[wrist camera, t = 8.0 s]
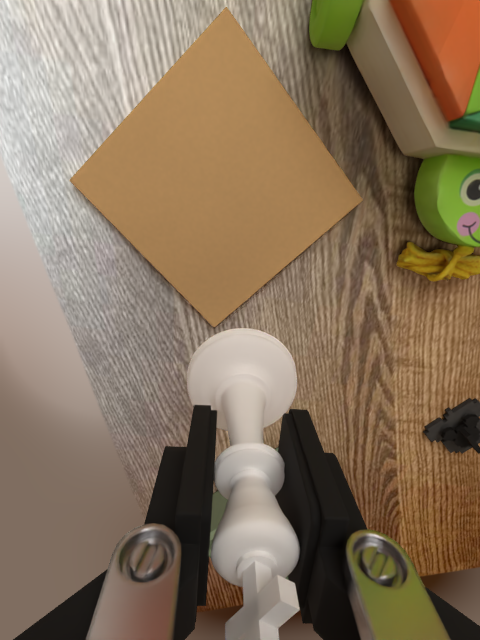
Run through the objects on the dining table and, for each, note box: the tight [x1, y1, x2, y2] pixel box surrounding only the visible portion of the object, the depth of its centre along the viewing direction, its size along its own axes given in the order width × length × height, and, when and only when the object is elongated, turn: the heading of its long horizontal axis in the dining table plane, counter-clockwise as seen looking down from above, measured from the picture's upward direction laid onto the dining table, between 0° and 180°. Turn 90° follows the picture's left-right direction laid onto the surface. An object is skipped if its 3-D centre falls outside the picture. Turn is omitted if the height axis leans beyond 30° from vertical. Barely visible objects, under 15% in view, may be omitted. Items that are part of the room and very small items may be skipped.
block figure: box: [424, 398, 480, 453], centre depth 33 cm, size 6×2×6 cm
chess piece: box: [187, 328, 300, 640], centre depth 10 cm, size 5×5×10 cm
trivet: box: [70, 7, 363, 327], centre depth 26 cm, size 16×16×1 cm
